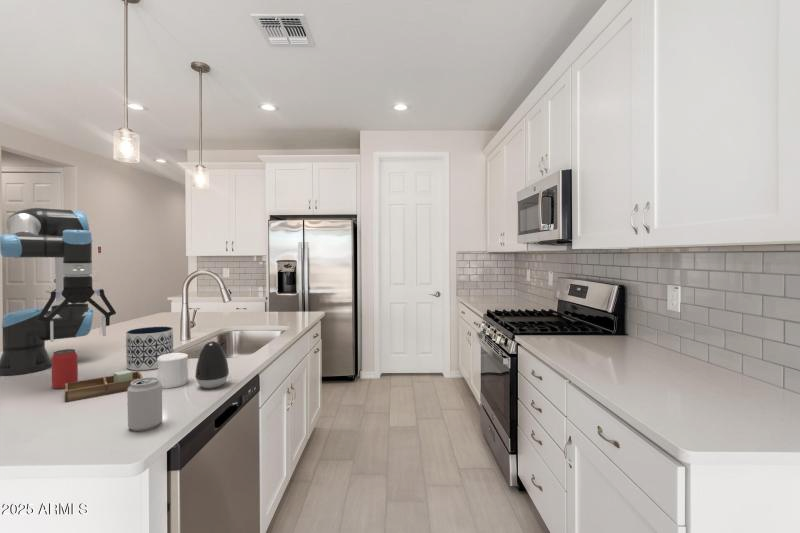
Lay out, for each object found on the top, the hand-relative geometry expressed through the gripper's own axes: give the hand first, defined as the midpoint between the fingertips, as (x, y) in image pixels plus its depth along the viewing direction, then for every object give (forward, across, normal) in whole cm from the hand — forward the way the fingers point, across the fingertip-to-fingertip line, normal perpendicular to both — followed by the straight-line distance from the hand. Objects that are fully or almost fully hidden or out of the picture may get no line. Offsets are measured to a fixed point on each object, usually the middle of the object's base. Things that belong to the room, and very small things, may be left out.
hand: (79, 338), depth 131 cm
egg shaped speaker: (+16, +33, -31) cm, 48 cm away
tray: (+16, +6, -12) cm, 21 cm away
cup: (+16, +24, -20) cm, 35 cm away
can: (+15, +11, -53) cm, 56 cm away
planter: (+17, +23, +12) cm, 31 cm away
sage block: (+15, +11, -13) cm, 22 cm away
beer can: (+16, -4, +2) cm, 17 cm away
